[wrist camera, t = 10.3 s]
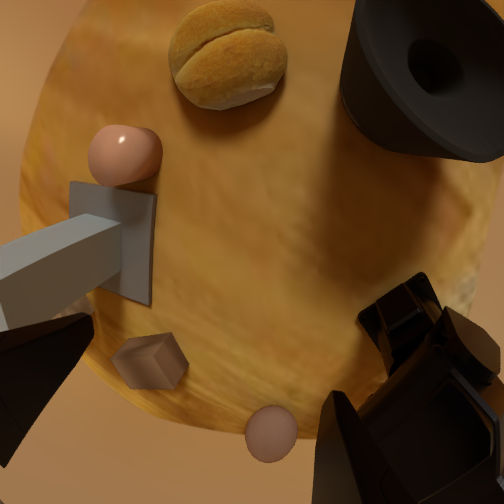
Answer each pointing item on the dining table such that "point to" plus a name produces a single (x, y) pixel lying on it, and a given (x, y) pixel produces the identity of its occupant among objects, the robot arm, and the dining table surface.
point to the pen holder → (427, 77)
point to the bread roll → (226, 54)
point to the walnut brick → (150, 362)
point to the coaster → (123, 233)
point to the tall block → (56, 268)
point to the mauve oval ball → (271, 433)
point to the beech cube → (77, 308)
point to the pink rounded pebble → (124, 155)
